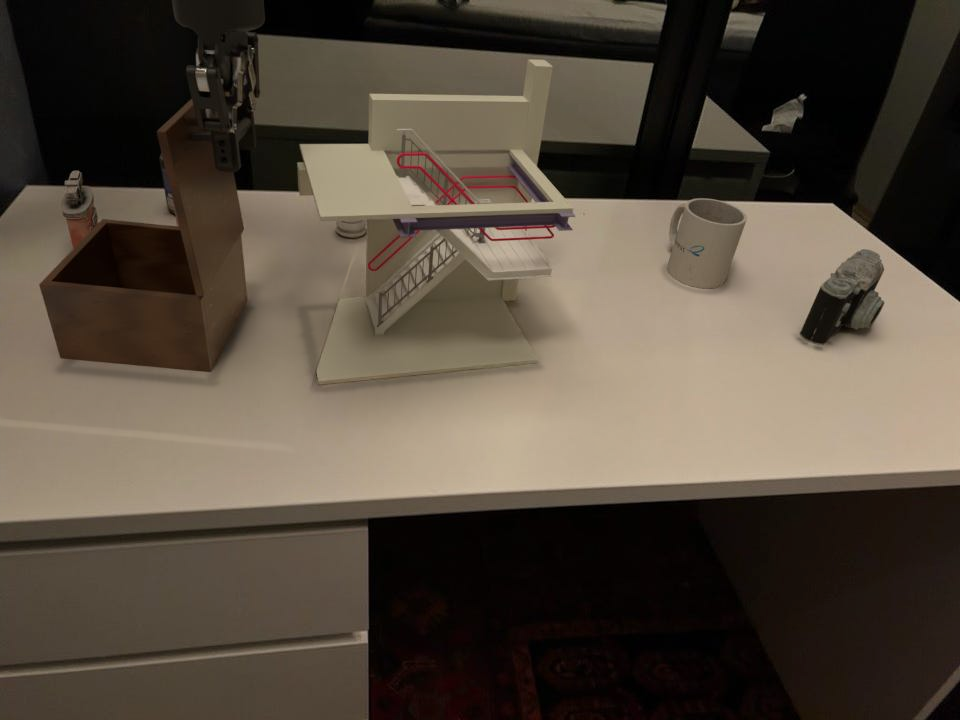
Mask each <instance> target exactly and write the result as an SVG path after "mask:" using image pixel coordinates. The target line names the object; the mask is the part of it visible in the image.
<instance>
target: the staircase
mask: <svg viewBox="0 0 960 720" xmlns="http://www.w3.org/2000/svg"><path fill="white" fill-rule="evenodd" d="M553 69H554V66H553V65H552V64H551V63H549V62H548V61H547V60H546V59H527V64H526V71H525V78H524V85H523V93H522V95H486V94H485V95H483V94H482V95H476V94H475V95H474V94H472V95H471V94H423V93H422V94H420V93H419V94H416V93H415V94H413V93H412V94H411V93H410V94H409V93H408V94H407V93H369V95H368V140H367V143H299V151H300V155H301V158H302V161H298V162H296V167H297V169H296V170H297V188H298V189H297V190H298V194H299V196H301V197H302V196H303V197H306V196H313V199H314V204H315V207H316V210H317V214H318V218H319V221H320V222H336V221H343V220H365V221H366V243H365V244H366V245H365V246H366V249H365V251H366V252H365V255H366V256H365V260H366V261H365V296H360V297H359V296H358V297H344V298H338V299H337V302H336V306H335V309H334V312H333V315H332V318H331V321H330V324H329V327H328V331H327V334H326V336H325V337H326V338H325V340H324V343H323V347H322V350H321V353H320V356H319V358H318V362H317V365H316V368H315V374H316V379H317V384H318V385H319V386H320V385H330V384H331V385H332V384H341V383H349V382H350V383H351V382H361V381H370V380H381V379H389V378H391V379H392V378H401V377H410V376H421V375H430V374H439V373H451V372H461V371H470V370H480V369H481V370H482V369H491V368H501V367H511V366H519V365H521V366H522V365H532V364H538V360H539V359H538V357H537V356H536V354H535V352H534V350H533V348H532V347H531V345H530V344H529V342H528V340H527V338H526V337H525V335H524V333H523V332H522V330H521V328H520V327H519V325H518V323H517V321H516V320H515V317H513V315H512V313H511V311H510V310H509V307H508V306H507V304H506V302H511V301H512V302H513V301H516V300H517V293H518V288H519V282H520V280H521V279H522V280H523V279H538V278H539V279H540V278H552V277H553V276H552V271H553V270H554V267H553V266H552V265H551V263H550V262H549V261H548V259H547V258H546V256H545V255H544V254H543V252H542V250H540V248H539V247H538V246H537V244H536V243H535V241H534V240H547V239H553V238H554V237H555V234H554V233H553V231H552V230H551V229H554V228H556V229H557V230H558V231H559V232H563V231H564V232H565V231H574V230H573V227H571V225H570V224H569V223H568V222H569V218H575V217H576V214H574V207H573V206H572V205H571V203H569V201H568V200H567V199H566V198H565V196H564V195H562V194H561V192H560V191H559V190H558V189H557V188H556V187H555V185H554V184H553V183H552V182H551V181H550V180H549V179H548V177H547V176H546V175H545V174H544V173H543V172H542V171H541V170H540V168H539V167H538V163H539V158H540V157H539V156H540V150H541V145H542V137H543V131H544V125H545V119H546V113H547V106H548V101H549V94H550V88H551V82H552V76H553ZM532 200H533V201H534V202H532ZM535 229H546V230H547V231H548V232H549V234H550V235H549V236H546V235H545V236H530V234H529V233H528V232H527V231H528V230H535Z"/></svg>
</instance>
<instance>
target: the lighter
mask: <svg viewBox="0 0 960 720" xmlns="http://www.w3.org/2000/svg"><path fill="white" fill-rule="evenodd" d="M83 182H84V178H83V173H82V172H80V170H73V171H71V173H70V174H69V178H68V179H67V180H64V195H63V197H62V199H61V204H60V207H61V212H62V216H63V218H65V220H66V224H67V225H66V226H67V228H68V233H69V237H70V241H71V245H72V248H73V249H74V248H75V247H76V246H77V245H78V244H79V243H80V242H81V241H82V240H83V239H84V238H85V237H86V236H87V235H88V234H89V233H90V231H91V230H92V229H93V228H94V227H95V226H96V225H97V224H98V223H99V220H98V219H99V217H98V212H97V208H96V207H95V206H94V201H95V198H94V193H93V188H92V187H91V186H89V185H83ZM73 249H72V250H73Z"/></svg>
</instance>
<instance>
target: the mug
mask: <svg viewBox="0 0 960 720" xmlns="http://www.w3.org/2000/svg"><path fill="white" fill-rule="evenodd" d="M747 220H748V217H747V215H746V213H745V212H744V211H743V210H742V209H741V208H739V207H738V206H735V205H733V204H731V203H729V202H726V201H722V200H719V199H713V198H704V197H699V198H692V199H689V200H688V201H686V202H684V203H681V204H679V205H678V206H677V207H676V209H675V210H674V212H673V214H672V217H671V218H670V223H669V230H668V236H669V244H670V245H671V247H672V249H671V252H670V255H669V258H668V262H667V266H666V270H667V272H668V274H669V275H670V276H671V277H672V278H674V279H675V280H676V281H678V282H679V283H682V284H684V285H687V286H690V287H693V288H699V289H716V288H719V287H721V286H723V285H724V284H725V282H726V280H727V277H728V274H729V271H730V269H731V266H732V263H733V260H734V257H735V255H736V252H737V248H738V246H739V243H740V239H741V237H742V234H743V231H744V228H745V225H746V222H747Z"/></svg>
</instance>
